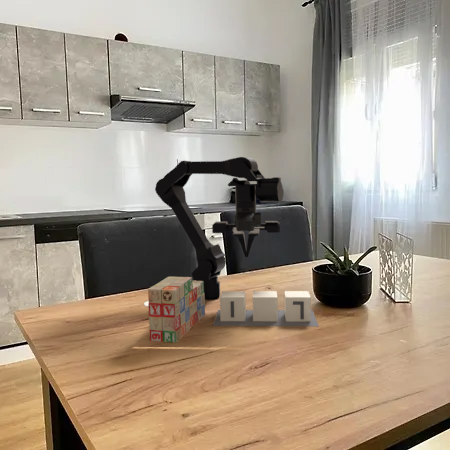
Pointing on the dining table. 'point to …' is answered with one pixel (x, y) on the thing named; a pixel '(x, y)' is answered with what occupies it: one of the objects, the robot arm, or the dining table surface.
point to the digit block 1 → (232, 306)
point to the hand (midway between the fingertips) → (246, 257)
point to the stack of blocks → (175, 307)
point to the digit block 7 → (297, 306)
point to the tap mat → (250, 321)
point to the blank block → (265, 306)
